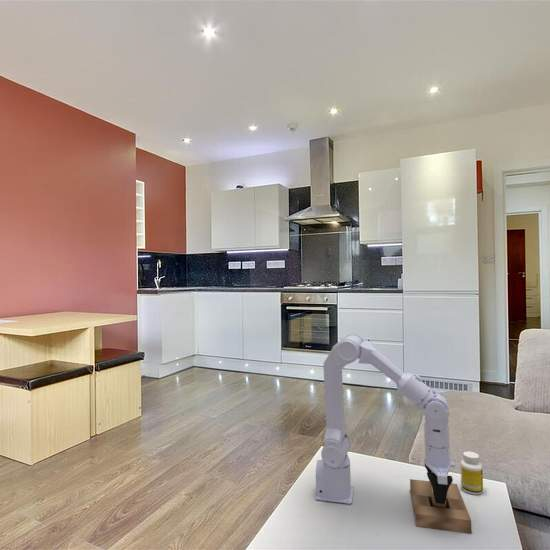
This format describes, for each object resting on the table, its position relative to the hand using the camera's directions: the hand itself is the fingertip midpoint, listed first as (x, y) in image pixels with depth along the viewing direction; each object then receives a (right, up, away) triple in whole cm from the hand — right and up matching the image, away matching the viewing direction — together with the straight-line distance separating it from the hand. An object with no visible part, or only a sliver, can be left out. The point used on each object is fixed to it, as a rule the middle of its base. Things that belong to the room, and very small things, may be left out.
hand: (438, 498), depth 95 cm
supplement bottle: (+14, -4, +10) cm, 18 cm away
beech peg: (0, -3, 0) cm, 3 cm away
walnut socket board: (+1, -4, +2) cm, 4 cm away
